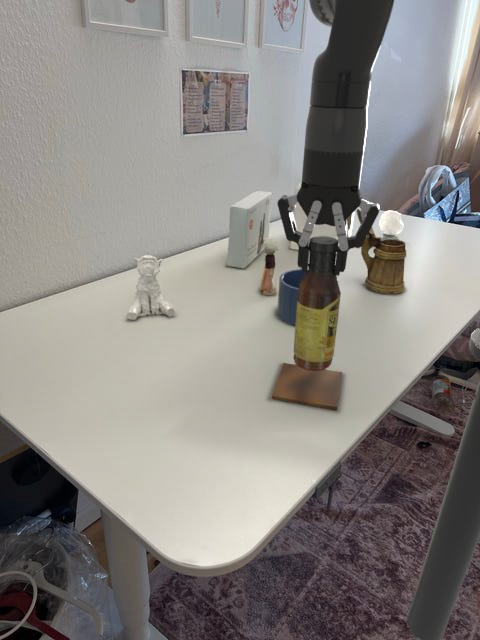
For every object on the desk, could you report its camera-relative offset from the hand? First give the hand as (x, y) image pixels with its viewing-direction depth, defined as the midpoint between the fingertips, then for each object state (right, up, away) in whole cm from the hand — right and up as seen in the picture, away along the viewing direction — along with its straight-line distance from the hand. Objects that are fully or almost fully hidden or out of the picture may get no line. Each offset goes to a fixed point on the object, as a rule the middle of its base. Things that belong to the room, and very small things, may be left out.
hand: (321, 271), depth 68 cm
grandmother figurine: (-5, -1, +42) cm, 43 cm away
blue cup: (+2, -6, +32) cm, 33 cm away
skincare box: (-9, +11, +64) cm, 66 cm away
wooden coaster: (-1, -18, +9) cm, 20 cm away
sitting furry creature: (-31, -5, +33) cm, 45 cm away
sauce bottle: (0, -14, +7) cm, 15 cm away
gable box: (+13, +17, +77) cm, 80 cm away
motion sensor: (+37, +20, +85) cm, 95 cm away
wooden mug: (+21, +1, +48) cm, 52 cm away
